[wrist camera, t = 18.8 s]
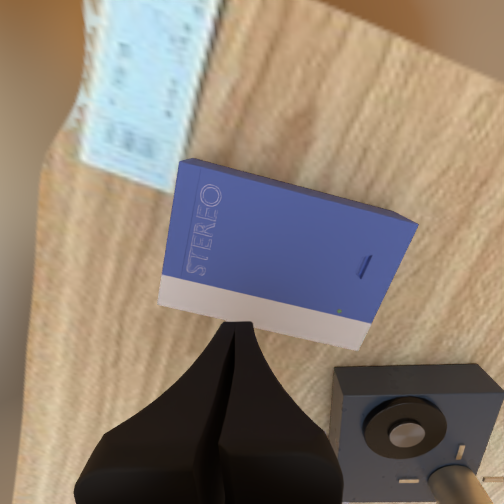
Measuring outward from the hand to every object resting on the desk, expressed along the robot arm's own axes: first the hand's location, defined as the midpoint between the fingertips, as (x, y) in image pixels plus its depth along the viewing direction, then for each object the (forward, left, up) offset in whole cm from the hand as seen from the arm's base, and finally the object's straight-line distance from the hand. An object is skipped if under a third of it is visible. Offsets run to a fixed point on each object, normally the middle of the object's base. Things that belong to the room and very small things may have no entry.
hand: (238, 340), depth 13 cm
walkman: (+1, -8, -4) cm, 9 cm away
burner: (-10, -10, -3) cm, 14 cm away
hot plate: (-13, -12, -6) cm, 18 cm away
